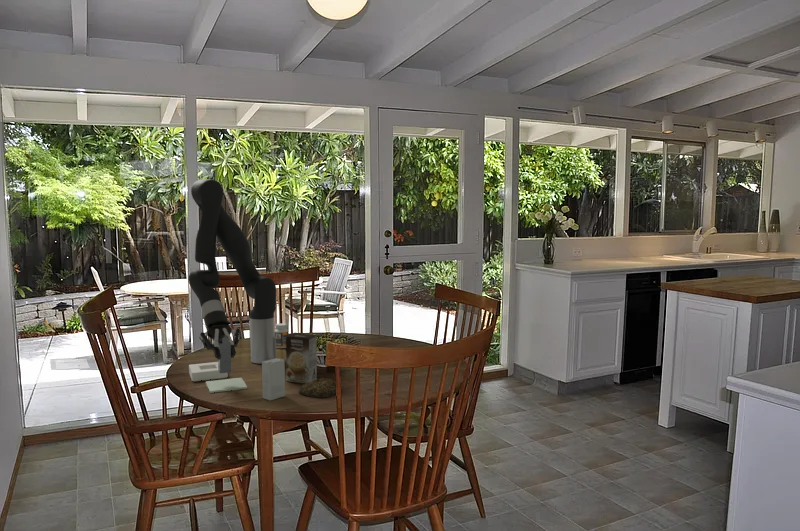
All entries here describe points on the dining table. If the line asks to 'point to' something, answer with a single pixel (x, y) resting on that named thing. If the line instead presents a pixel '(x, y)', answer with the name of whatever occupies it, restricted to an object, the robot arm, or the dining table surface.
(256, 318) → the robot arm
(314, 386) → the brown rock
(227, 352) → the t-key
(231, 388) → the sage mat
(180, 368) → the dining table surface
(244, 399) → the dining table surface
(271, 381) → the skincare box
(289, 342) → the coffee box
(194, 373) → the key socket
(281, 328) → the pill bottle
